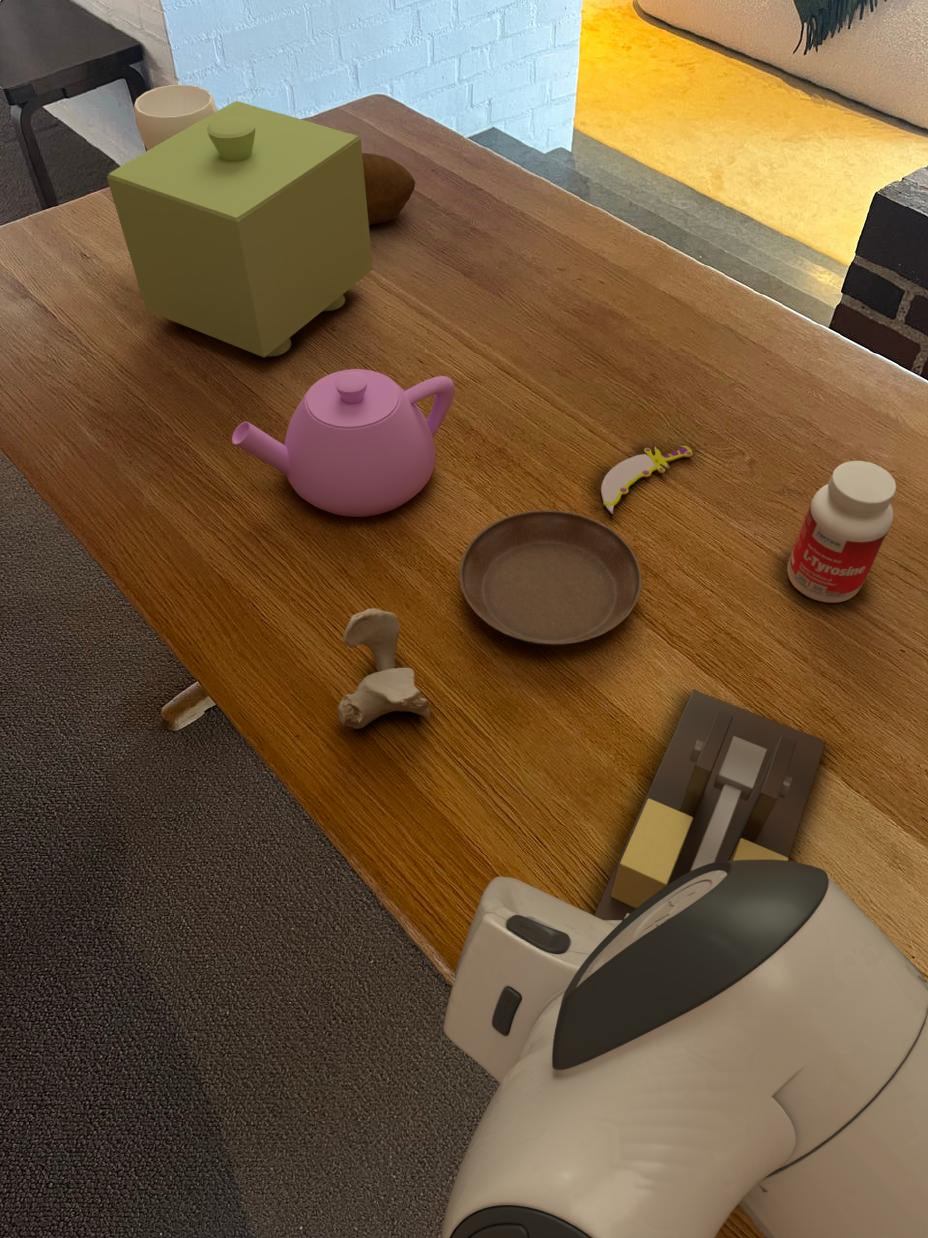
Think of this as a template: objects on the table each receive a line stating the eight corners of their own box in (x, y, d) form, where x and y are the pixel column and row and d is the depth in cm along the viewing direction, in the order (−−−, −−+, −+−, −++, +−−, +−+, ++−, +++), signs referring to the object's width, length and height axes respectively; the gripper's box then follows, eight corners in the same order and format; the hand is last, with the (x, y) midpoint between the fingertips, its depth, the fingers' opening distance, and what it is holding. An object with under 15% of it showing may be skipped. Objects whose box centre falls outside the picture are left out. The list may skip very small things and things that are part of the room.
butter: (769, 891, 62) (789, 857, 58) (746, 960, 59) (765, 929, 55) (637, 833, 64) (648, 797, 61) (610, 897, 62) (619, 863, 58)
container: (268, 377, 99) (230, 187, 83) (151, 329, 104) (95, 143, 89) (374, 289, 109) (358, 104, 93) (263, 249, 114) (230, 69, 99)
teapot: (234, 453, 91) (210, 359, 83) (433, 409, 95) (429, 315, 87) (262, 553, 83) (238, 460, 75) (479, 500, 87) (480, 405, 79)
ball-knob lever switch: (683, 995, 55) (689, 988, 52) (631, 970, 56) (634, 961, 53) (768, 768, 60) (777, 749, 58) (719, 748, 61) (726, 729, 59)
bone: (414, 767, 68) (341, 664, 63) (349, 765, 72) (276, 668, 67) (465, 682, 73) (402, 581, 68) (402, 685, 77) (338, 590, 72)
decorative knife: (577, 486, 88) (612, 516, 85) (577, 482, 88) (613, 512, 85) (670, 437, 92) (707, 464, 89) (671, 433, 92) (708, 460, 89)
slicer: (739, 1001, 59) (783, 936, 51) (589, 929, 62) (607, 856, 54) (820, 751, 70) (867, 663, 62) (689, 700, 73) (717, 610, 65)
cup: (181, 218, 119) (147, 80, 107) (252, 222, 118) (226, 84, 106) (157, 256, 114) (118, 116, 101) (230, 262, 113) (200, 120, 100)
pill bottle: (779, 593, 80) (816, 496, 71) (792, 543, 83) (828, 445, 75) (856, 614, 78) (903, 517, 70) (865, 562, 82) (911, 464, 73)
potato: (309, 213, 120) (300, 151, 114) (401, 193, 123) (398, 131, 117) (330, 245, 115) (322, 181, 109) (425, 223, 118) (423, 160, 112)
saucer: (462, 528, 85) (462, 506, 83) (630, 531, 84) (634, 509, 82) (456, 662, 75) (456, 641, 73) (644, 666, 75) (649, 645, 73)
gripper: (899, 1118, 39) (873, 981, 52) (453, 899, 45) (530, 825, 58) (840, 1248, 40) (829, 1081, 53) (411, 1016, 46) (496, 918, 59)
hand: (670, 946), depth 56 cm, fingers closed on ball-knob lever switch, 3 cm apart
